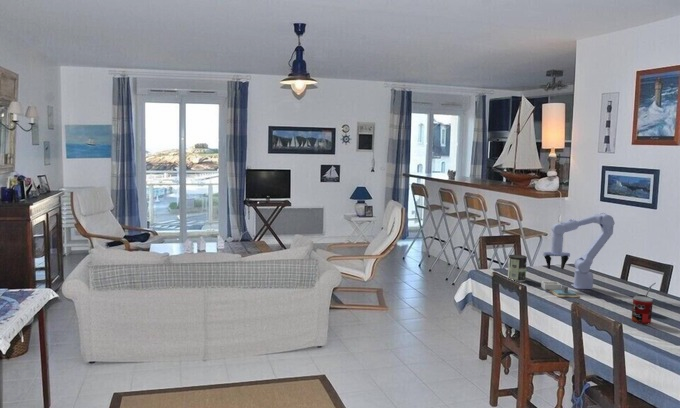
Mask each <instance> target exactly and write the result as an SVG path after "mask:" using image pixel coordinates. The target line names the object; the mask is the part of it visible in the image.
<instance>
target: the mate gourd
mask: <svg viewBox="0 0 680 408" xmlns="http://www.w3.org/2000/svg"><path fill="white" fill-rule="evenodd" d="M654 285H656V282H654V283H652V284H651V285H650V286H649V288H648V290H647V292H646V294H636V295H635V296H643V297H648V298H650V297H649V296H648V294H649V292H650V290H652V287H653V286H654Z"/></svg>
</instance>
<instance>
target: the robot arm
mask: <svg viewBox="0 0 680 408" xmlns="http://www.w3.org/2000/svg"><path fill="white" fill-rule="evenodd" d="M589 224H597V225H599V226H600V229H601V233H599V235H598V236H597V237H596V239H595V240H594V241H593V242H592V243H591V244H590V247H589V248H588V249H587V250H586V251H585V253H584V254H582V255H581V256H580V257H579V258H577V259H575V261H574V263H573V264H574V267H575V269H574V274H573V275H574V278H573V283H572V284H570V285H571V286H572V287H573V288H574V289H577V290H581V289H582V290H593V289H594V288H593V285H594V274H593V272H591V271H590V269H591V266H592V264H593V261H594V259H595V258H596V256H597V255H598V254H599V252H601V250H602V248H603V247H604V246H605V244H607V242H608V241H609V239H610V238H611V237H612V235H613V234H614V225H615V220H614V217H612V215H610V214H607V213H606V212H605V213H604V212H602V213H596V214H593V215H590V216H587V217H584V218H581V219H577V220H576V219H573V218H569V219H568V220H567V221H561V222H560V223H554V224H553V225H552V227H551V231H552V239H551V251H543V252H542V256H543V257H544V259H545V262H546V266H547V267H546V268H547V269H549V270H550V269H551V262H552V257H560V258H561V259H560V260H561V264H560V269H562V270H564V269H565V266H566V264H567V262H568V261H569V258H570V257H571V253H570V252H565V251H563V248H564V246H563V243H564V234H565V233H568V232H572V231H575V230H578V228H579V227H581V226H586V225H589Z"/></svg>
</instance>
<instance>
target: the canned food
mask: <svg viewBox="0 0 680 408" xmlns="http://www.w3.org/2000/svg"><path fill="white" fill-rule="evenodd" d="M648 297H649V296H648ZM648 297H643V296H636V295H635V296H633V299H632V309H631V321H632V322H633V321H634V322H633V323H636V322H637V324H640V323H645V324H644V325H649V324H651V322H652V313H653V305H654V301H653V298H651V297H649V298H648ZM648 323H649V324H648Z"/></svg>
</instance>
